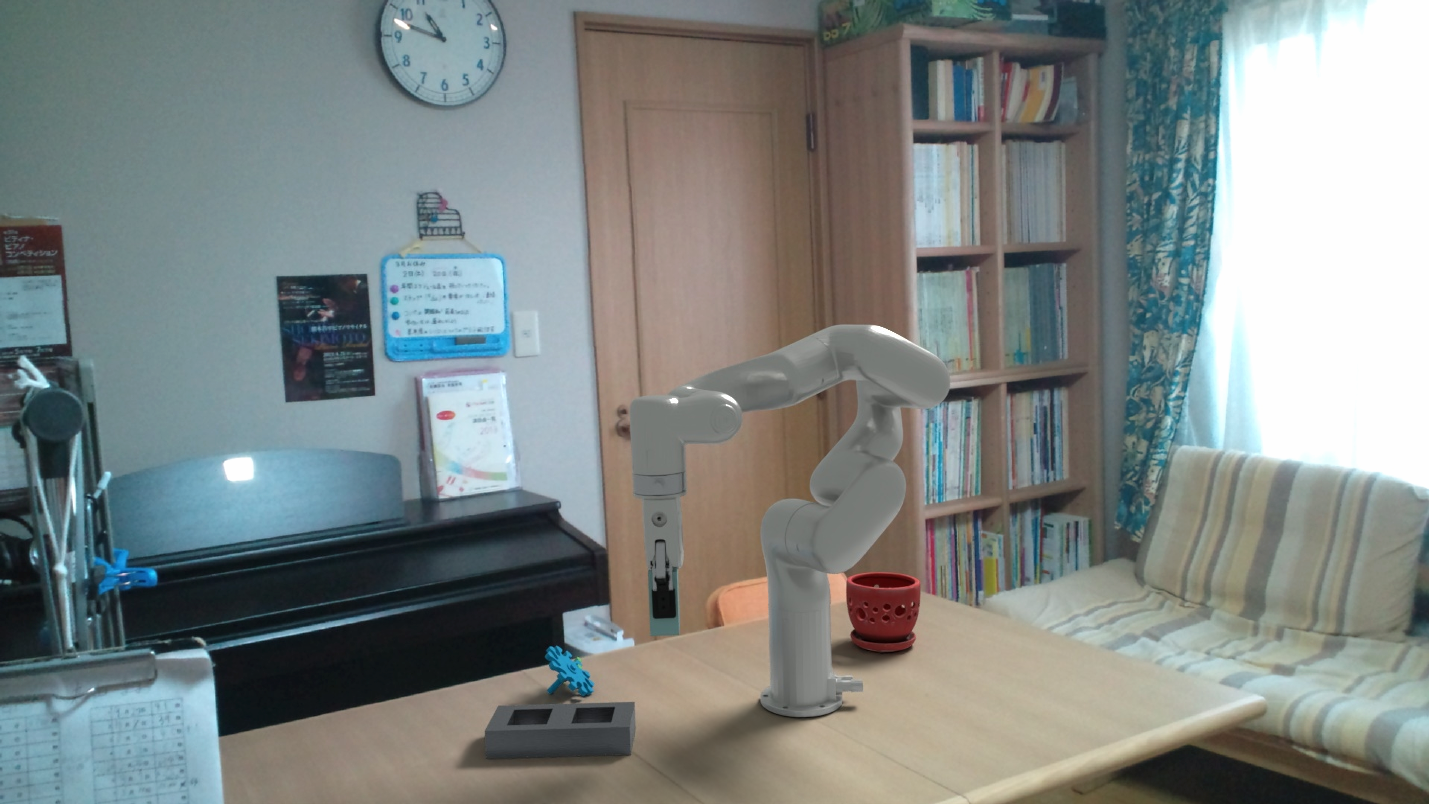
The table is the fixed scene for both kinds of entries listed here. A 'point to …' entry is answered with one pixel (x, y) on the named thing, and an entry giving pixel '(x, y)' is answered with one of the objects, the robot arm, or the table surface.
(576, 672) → the gear
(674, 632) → the peg
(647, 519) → the robot arm
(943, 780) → the table surface
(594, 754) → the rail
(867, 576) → the plant pot
